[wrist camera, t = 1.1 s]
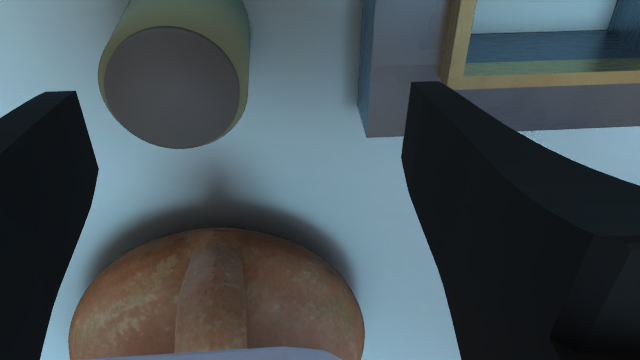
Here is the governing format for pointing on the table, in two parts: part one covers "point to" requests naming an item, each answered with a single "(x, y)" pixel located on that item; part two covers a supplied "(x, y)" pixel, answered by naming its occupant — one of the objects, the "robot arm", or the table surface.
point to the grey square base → (498, 67)
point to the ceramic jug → (216, 299)
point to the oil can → (178, 70)
